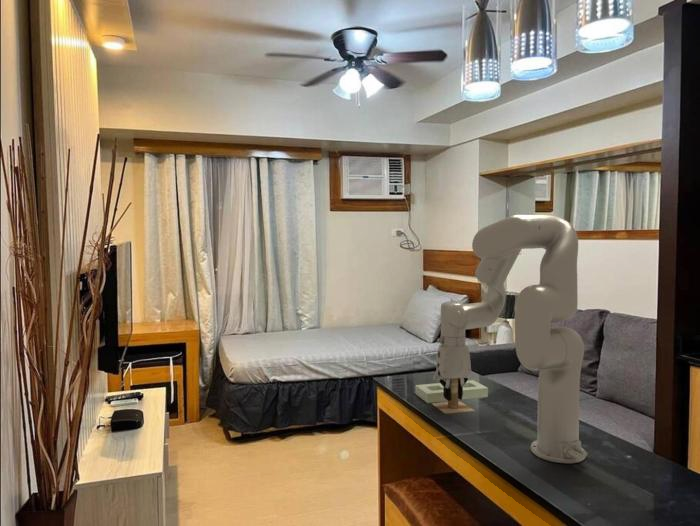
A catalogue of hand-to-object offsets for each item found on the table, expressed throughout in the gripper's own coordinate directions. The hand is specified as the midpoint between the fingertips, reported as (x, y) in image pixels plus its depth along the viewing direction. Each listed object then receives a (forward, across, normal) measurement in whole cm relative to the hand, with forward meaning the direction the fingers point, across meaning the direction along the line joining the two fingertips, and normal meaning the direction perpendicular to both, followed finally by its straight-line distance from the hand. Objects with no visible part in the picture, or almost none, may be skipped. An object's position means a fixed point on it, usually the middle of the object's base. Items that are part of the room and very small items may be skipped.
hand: (453, 398), depth 157 cm
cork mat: (+3, 0, 0) cm, 3 cm away
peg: (+3, 0, 0) cm, 3 cm away
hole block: (+3, +5, +11) cm, 13 cm away
